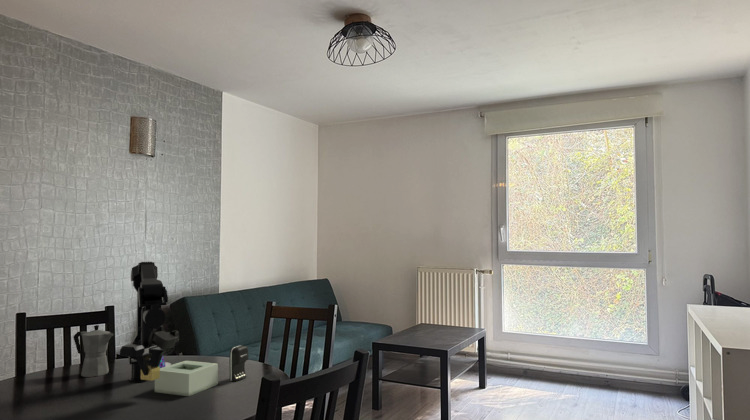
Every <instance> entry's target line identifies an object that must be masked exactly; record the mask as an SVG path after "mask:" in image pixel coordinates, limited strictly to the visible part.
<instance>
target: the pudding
mask: <svg viewBox="0 0 750 420" xmlns="http://www.w3.org/2000/svg"><path fill="white" fill-rule="evenodd" d="M170 365H172V363H171V362H167V361H165V358H164V355H163V356H162V358H161V361H160V363H159V366H158V367H160V368H164V367H167V366H170Z"/></svg>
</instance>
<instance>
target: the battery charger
mask: <svg viewBox="0 0 750 420" xmlns="http://www.w3.org/2000/svg"><path fill="white" fill-rule="evenodd" d="M247 361H249V349H248V347H247V346H246V345H237V346H233V347H232V348H230V351H229V381H231V382H239V381H241V380H243V379H246V378H247V372H246V370H245V369H246V368H245V367H246V366H245V363H246V362H247Z"/></svg>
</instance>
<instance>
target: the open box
mask: <svg viewBox="0 0 750 420" xmlns="http://www.w3.org/2000/svg"><path fill="white" fill-rule="evenodd" d="M218 378H219V364H218V363H214V362H204V361H194V360H184V361H180V362H176V363H173V364H171V365H170V366H167V367H164V368H160V378H158V379H156V380H154V393H160V394H166V395H167V394H168V395H175V396H184V397H191V396H193V395H196V394H198V393H201V392H203V391H205V390H207V389H208V390H209V389H210V388H212V387H215V386H217V385H218V384H219V379H218Z"/></svg>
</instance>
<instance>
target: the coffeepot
mask: <svg viewBox="0 0 750 420" xmlns="http://www.w3.org/2000/svg"><path fill="white" fill-rule="evenodd" d="M99 327H100V325H98V324H96V325H94V326H93V329H94V330H91V331H81V330H80V331H77V332H76V333H75V334H74V335H73V340H74V341H73V342H74V344H75V347H76V351H77V353H78V354H80V355H81V354H82V355H83V354H84V353H85V356H84V360H83V364H82V369H81V373H80V376H81V377H84V378H95V377H94V376H96V377H100V376H104V375H108V374H109V371H110V370H109V369H110V368H109V363H108V356H107V355H106V354H107V351H108V346H109V341H110V339H111V338H112V337H113V336H114V333H113V332H111V331H106V330H103V329H100V330H99ZM79 337H81V338H82V344H83V350H82V349H81V348H82V346H81V343H80V338H79Z"/></svg>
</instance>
